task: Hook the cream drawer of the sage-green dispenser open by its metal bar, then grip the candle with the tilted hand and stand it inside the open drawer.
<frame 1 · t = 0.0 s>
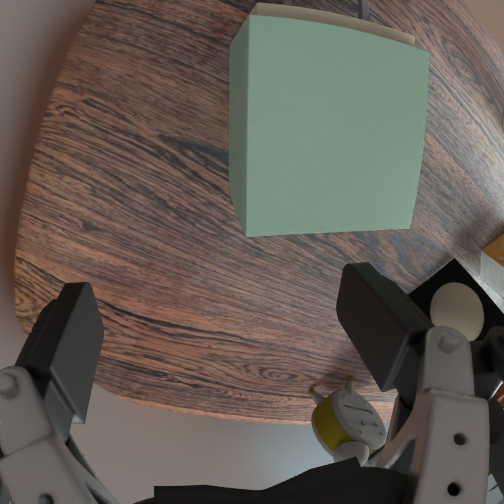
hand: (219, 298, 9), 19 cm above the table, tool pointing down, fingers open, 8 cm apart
dispenser: (299, 120, 26), on the table
drawer: (321, 73, 20), point 5 cm above the table, slide at 0.0 cm
alarm clock: (336, 386, 45), on the table
decorative object: (432, 294, 40), on the table
small box: (493, 252, 39), on the table
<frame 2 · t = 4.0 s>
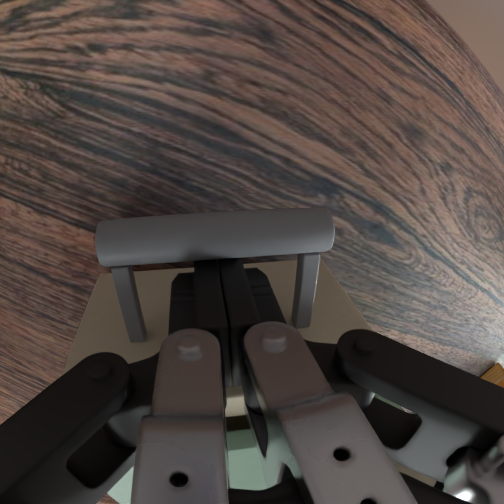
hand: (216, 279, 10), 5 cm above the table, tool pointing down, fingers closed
dispenser: (217, 369, 20), on the table
drawer: (222, 380, 14), point 5 cm above the table, slide at 0.7 cm, touching gripper
decorative object: (395, 437, 34), on the table
small box: (475, 385, 34), on the table
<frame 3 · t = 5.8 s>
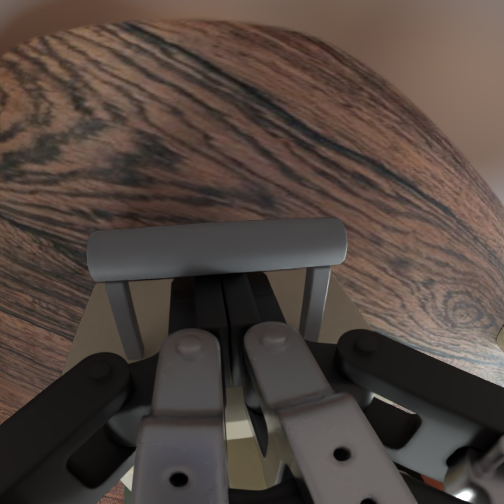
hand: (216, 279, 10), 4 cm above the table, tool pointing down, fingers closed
drawer: (224, 395, 13), point 5 cm above the table, slide at 8.5 cm, touching gripper
decorative object: (380, 465, 37), on the table
potted plant: (408, 478, 50), on the table
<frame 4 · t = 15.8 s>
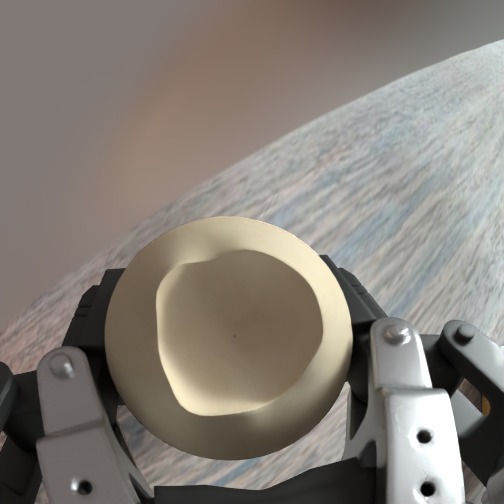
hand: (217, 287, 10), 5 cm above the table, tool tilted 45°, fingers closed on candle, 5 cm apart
candle: (217, 346, 15), on the table, touching gripper
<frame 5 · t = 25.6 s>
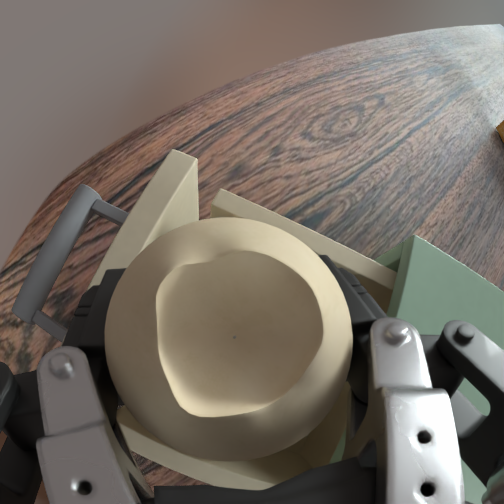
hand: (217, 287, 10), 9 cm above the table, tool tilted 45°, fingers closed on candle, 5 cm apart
dispenser: (380, 406, 18), on the table
drawer: (199, 333, 13), point 5 cm above the table, slide at 8.8 cm
candle: (217, 346, 15), point 4 cm above the table, touching gripper
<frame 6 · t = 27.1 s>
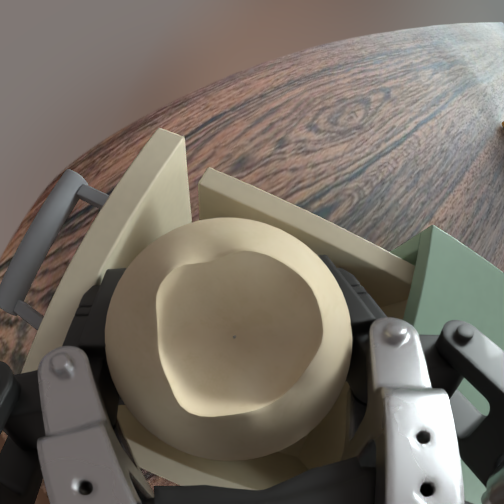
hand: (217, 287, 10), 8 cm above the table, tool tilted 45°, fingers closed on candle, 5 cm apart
dispenser: (390, 408, 17), on the table
drawer: (187, 326, 12), point 5 cm above the table, slide at 9.5 cm
candle: (217, 346, 15), point 2 cm above the table, touching gripper
when the fingers open (8 cm above the table, at t = 29.5 s): candle stays where it is, resting on drawer.
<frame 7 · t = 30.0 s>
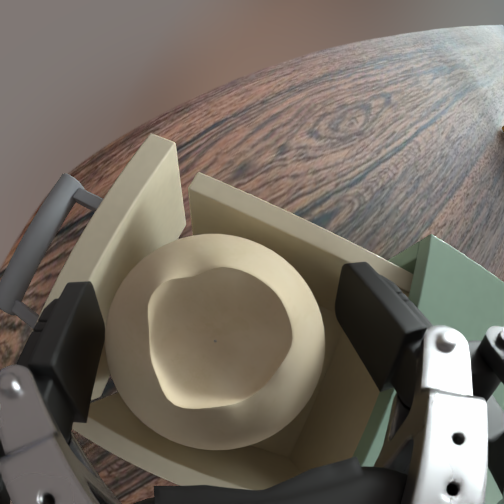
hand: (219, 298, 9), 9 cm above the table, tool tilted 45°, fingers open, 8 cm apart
dispenser: (389, 412, 17), on the table
drawer: (179, 327, 13), point 5 cm above the table, slide at 10.0 cm, touching candle, gripper
candle: (211, 347, 15), point 2 cm above the table, touching drawer
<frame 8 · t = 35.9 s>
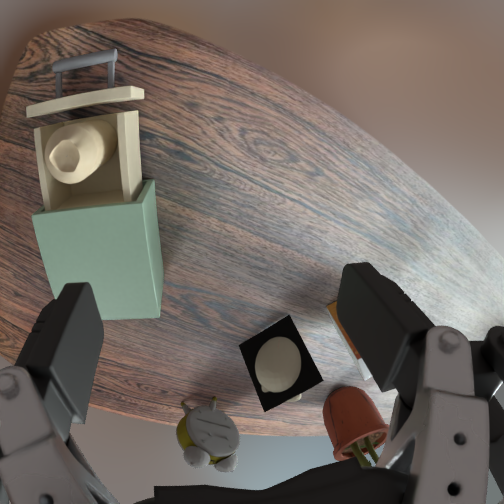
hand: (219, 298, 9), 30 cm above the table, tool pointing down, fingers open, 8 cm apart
dispenser: (113, 233, 38), on the table
drawer: (88, 130, 28), point 5 cm above the table, slide at 10.0 cm, touching candle
alarm clock: (207, 403, 57), on the table
decorative object: (275, 342, 52), on the table
candle: (96, 141, 31), point 2 cm above the table, touching drawer
small box: (349, 305, 52), on the table
potted plant: (338, 400, 66), on the table
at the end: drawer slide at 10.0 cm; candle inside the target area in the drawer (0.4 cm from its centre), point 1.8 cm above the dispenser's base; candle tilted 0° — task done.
